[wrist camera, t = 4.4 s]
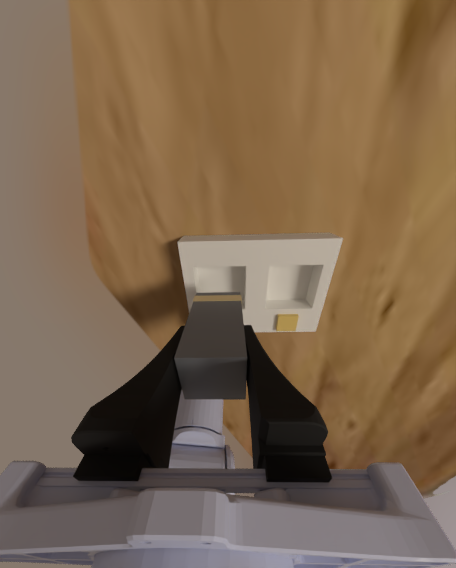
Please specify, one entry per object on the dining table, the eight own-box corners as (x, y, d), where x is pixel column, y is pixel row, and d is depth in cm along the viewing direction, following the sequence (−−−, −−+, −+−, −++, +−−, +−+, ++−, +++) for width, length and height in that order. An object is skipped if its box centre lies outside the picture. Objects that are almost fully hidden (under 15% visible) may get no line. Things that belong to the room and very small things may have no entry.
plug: (240, 326, 17) (246, 399, 11) (200, 326, 17) (183, 399, 11) (240, 291, 15) (248, 356, 9) (195, 292, 16) (173, 357, 9)
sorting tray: (307, 318, 24) (316, 333, 22) (195, 320, 25) (191, 335, 22) (329, 232, 19) (345, 239, 16) (183, 235, 19) (176, 242, 16)
